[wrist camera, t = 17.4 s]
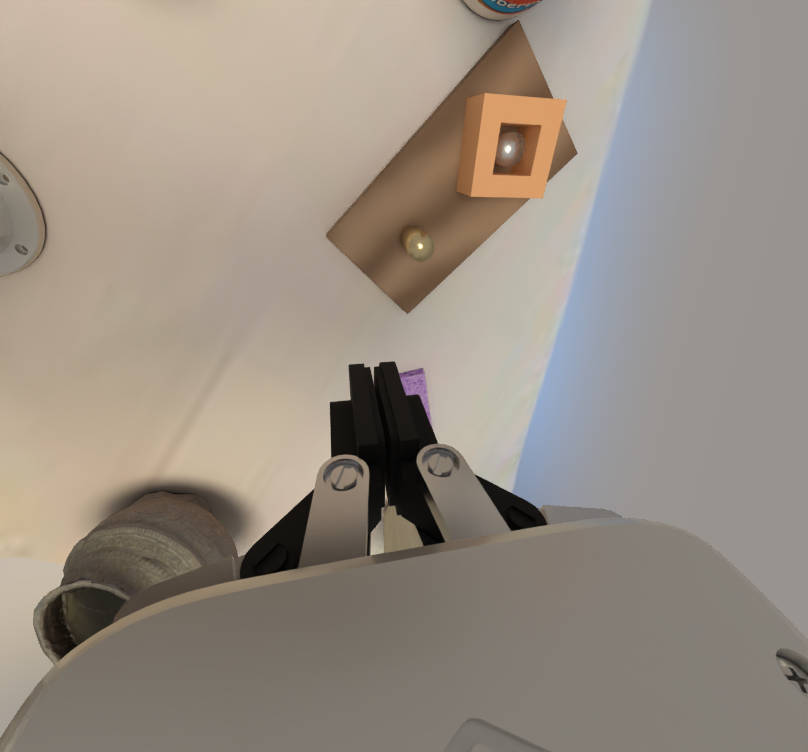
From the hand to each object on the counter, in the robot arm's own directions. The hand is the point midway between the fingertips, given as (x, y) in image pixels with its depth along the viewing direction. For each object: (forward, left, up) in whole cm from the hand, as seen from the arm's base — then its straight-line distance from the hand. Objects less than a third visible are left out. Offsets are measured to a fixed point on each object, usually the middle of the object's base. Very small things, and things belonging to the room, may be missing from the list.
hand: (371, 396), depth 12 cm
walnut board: (+5, +11, -27) cm, 30 cm away
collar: (+5, +16, -26) cm, 31 cm away
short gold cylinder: (+5, +5, -26) cm, 27 cm away
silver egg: (+5, +16, -26) cm, 31 cm away
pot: (+10, -49, -27) cm, 57 cm away
